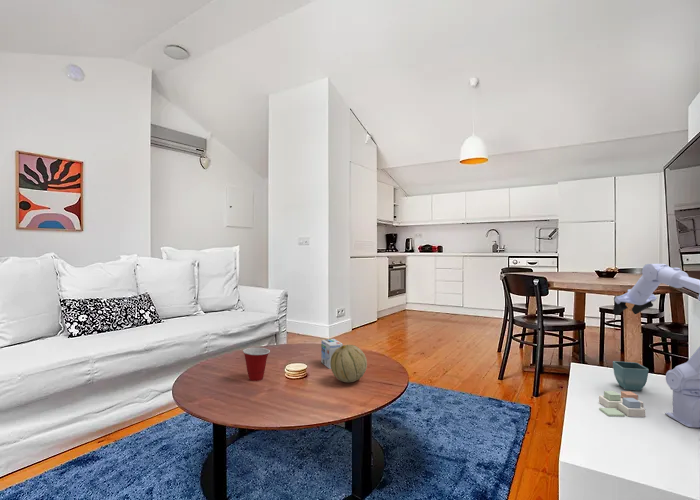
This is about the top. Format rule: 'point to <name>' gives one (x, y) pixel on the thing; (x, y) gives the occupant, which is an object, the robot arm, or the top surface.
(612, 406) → the button strip
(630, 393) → the orange-brown cube
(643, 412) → the side socket
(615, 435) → the top surface
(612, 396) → the sage button
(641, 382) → the flower pot
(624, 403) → the blue-grey cube
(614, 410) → the sage swatch
